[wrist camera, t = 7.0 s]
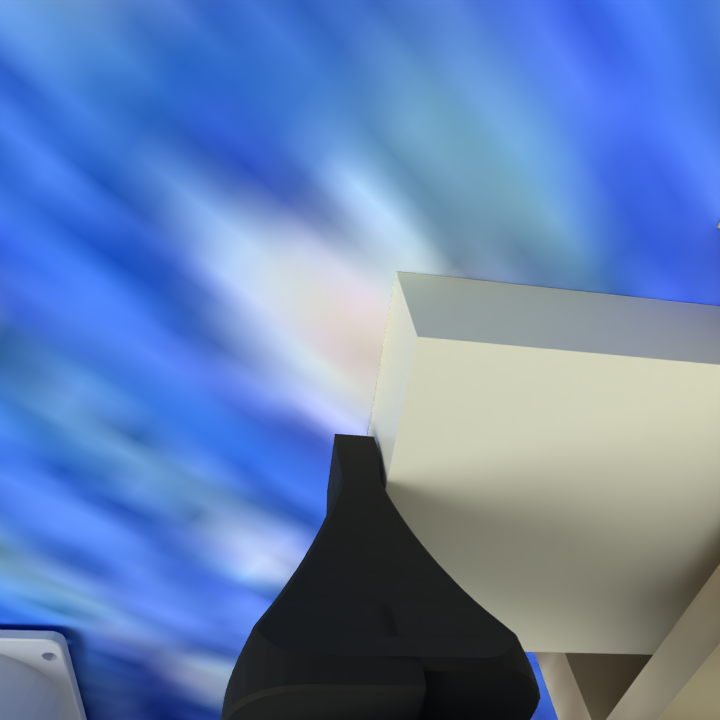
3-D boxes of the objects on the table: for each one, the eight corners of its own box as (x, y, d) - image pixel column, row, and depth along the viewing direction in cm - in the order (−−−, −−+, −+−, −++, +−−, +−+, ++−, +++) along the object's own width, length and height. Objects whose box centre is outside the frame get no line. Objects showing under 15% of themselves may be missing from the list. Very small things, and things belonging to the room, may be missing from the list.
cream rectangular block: (718, 563, 19) (793, 657, 16) (348, 546, 17) (352, 647, 14) (892, 324, 14) (1046, 395, 11) (396, 271, 12) (417, 336, 9)
